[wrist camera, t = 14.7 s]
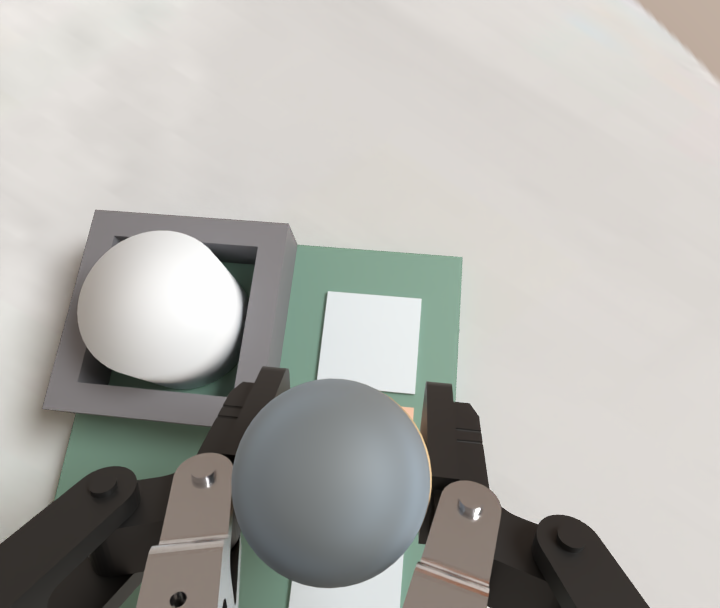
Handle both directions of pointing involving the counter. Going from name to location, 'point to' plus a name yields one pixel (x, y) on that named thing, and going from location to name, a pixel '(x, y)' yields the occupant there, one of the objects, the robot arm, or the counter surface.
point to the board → (267, 348)
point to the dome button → (163, 311)
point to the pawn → (331, 483)
